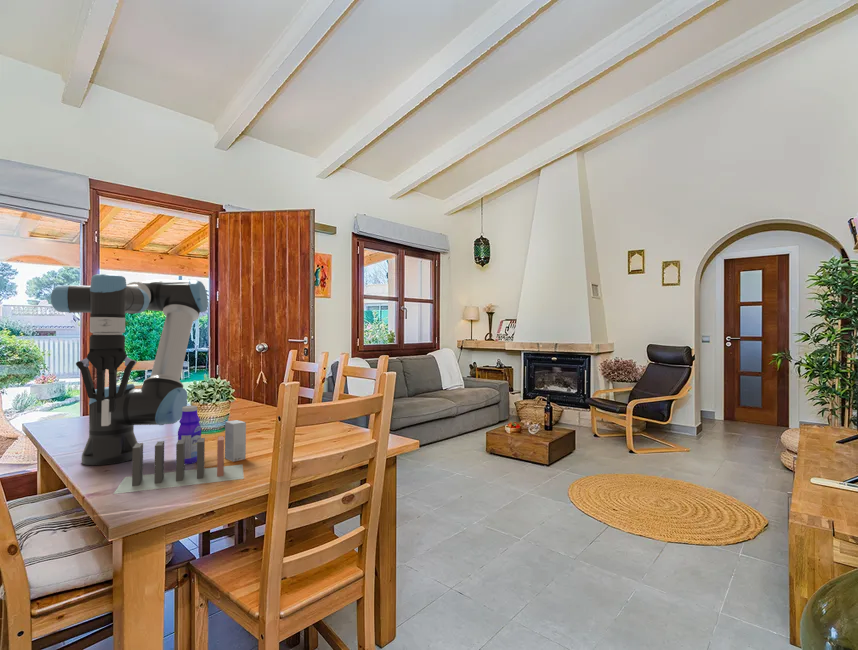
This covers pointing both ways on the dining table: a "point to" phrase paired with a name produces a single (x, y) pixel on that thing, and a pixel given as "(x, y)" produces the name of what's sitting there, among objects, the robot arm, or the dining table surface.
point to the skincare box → (235, 440)
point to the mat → (189, 479)
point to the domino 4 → (200, 457)
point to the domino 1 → (137, 464)
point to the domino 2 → (159, 462)
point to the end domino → (220, 456)
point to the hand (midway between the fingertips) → (106, 424)
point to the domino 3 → (180, 460)
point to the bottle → (190, 432)
